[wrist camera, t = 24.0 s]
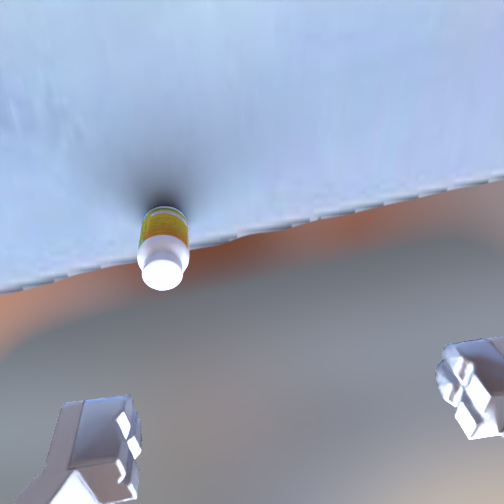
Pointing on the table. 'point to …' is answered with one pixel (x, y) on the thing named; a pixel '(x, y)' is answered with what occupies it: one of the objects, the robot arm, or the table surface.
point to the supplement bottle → (163, 247)
